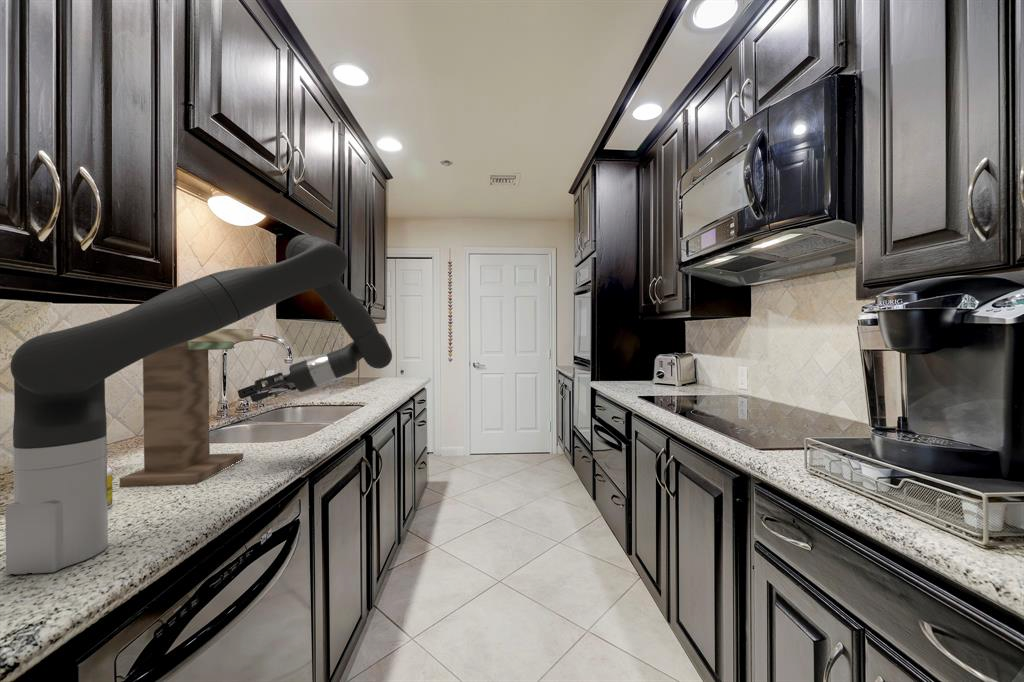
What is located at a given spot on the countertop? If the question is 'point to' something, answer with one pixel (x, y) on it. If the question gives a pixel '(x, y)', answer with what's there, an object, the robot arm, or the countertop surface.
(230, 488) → the countertop surface
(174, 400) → the stand
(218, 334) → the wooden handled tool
